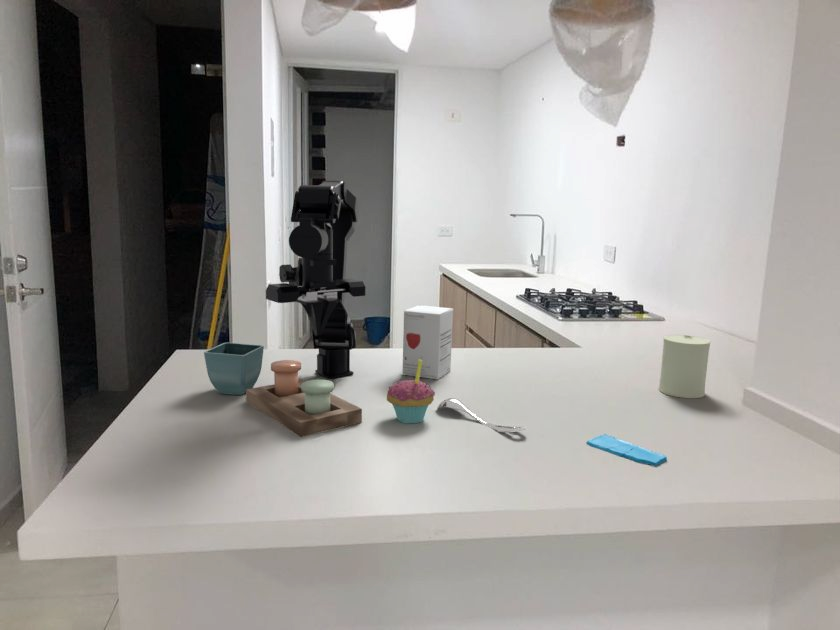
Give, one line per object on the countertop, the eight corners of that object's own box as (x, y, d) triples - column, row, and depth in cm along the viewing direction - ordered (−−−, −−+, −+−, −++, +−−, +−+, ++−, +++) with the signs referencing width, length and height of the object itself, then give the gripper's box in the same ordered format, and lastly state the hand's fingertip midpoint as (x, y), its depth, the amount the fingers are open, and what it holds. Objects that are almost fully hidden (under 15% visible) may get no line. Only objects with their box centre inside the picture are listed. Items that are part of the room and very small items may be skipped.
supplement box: (400, 375, 138) (402, 310, 135) (416, 366, 146) (417, 304, 144) (438, 380, 135) (440, 313, 132) (451, 370, 143) (454, 307, 140)
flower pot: (245, 400, 119) (244, 355, 117) (204, 396, 120) (202, 351, 119) (265, 387, 127) (264, 345, 125) (226, 383, 129) (225, 342, 127)
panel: (302, 391, 125) (302, 379, 124) (361, 422, 108) (361, 408, 107) (246, 401, 117) (245, 389, 117) (300, 437, 100) (300, 422, 100)
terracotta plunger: (293, 388, 121) (292, 358, 120) (306, 395, 116) (306, 364, 115) (266, 393, 117) (265, 362, 116) (279, 400, 113) (279, 369, 112)
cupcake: (439, 414, 113) (441, 351, 111) (424, 430, 105) (426, 362, 103) (396, 408, 115) (397, 347, 113) (378, 423, 108) (379, 357, 105)
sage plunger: (323, 409, 112) (323, 377, 111) (339, 418, 107) (339, 385, 106) (295, 415, 108) (295, 382, 107) (311, 424, 104) (311, 390, 103)
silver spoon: (533, 413, 104) (516, 419, 100) (533, 434, 104) (516, 440, 101) (448, 393, 118) (431, 397, 115) (448, 411, 119) (431, 416, 115)
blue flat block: (647, 467, 91) (670, 454, 94) (583, 441, 101) (606, 430, 104) (647, 476, 92) (669, 463, 95) (583, 449, 101) (605, 438, 104)
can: (704, 389, 133) (711, 335, 131) (704, 401, 125) (711, 343, 123) (659, 383, 137) (664, 330, 135) (656, 394, 128) (662, 338, 126)
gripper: (337, 249, 127) (337, 322, 129) (252, 251, 115) (254, 332, 118) (367, 253, 118) (367, 332, 121) (278, 256, 106) (280, 343, 109)
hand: (317, 334), depth 117 cm, fingers closed
